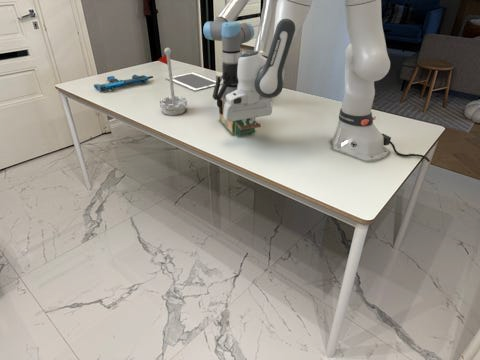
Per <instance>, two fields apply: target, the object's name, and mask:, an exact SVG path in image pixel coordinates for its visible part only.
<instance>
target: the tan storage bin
mask: <svg viewBox="0 0 480 360" xmlns="http://www.w3.org/2000/svg"><path fill="white" fill-rule="evenodd" d="M226 101H227V100H222V107H223V114H220V113H219V121H220V123H221V124H222V125H223V126H224V127H225V129H226V130H227V131H228V132H229V133H230V135H232V136H236V135H235V131H234V121H230V122H228V121H226V120H225V118H224V105H225V102H226Z"/></svg>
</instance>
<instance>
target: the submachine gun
mask: <svg viewBox="0 0 480 360" xmlns="http://www.w3.org/2000/svg"><path fill="white" fill-rule="evenodd" d="M106 79H107V81H108V83H102V84H99V83H94V84H93V88H94V89H95V90H97V91H99V92H106V91H108V92H109V91H111V92H113V91H114V90H115V89H119V88H124V87H128V86H133V85H138V84H141V83H142V84H144V83H147V82H148V81H149V80H150V79H154V75H150V76H147V75H144V74H143V75H138V74H133V75H132V76H131V78H128V79H117V78H116V77H115V76H113V75H110V76H107V78H106Z"/></svg>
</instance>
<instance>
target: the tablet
mask: <svg viewBox="0 0 480 360" xmlns="http://www.w3.org/2000/svg"><path fill="white" fill-rule="evenodd" d="M172 79H173V83H175V84H178V85H179V86H182V87H185V88H187V89H189V90H192V91H194V92H197V91H200V90H204V89H208V88H212V87H215V84H216V79H215V80H214V79H212V78H210V77H207V76H203V75H201V74H199V73H196V72H193V71H192V72H188V73H183V74H179V75H178V74H177V75H173V76H172ZM166 80H168V81H169V77H166ZM220 85H223V82H220Z"/></svg>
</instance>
